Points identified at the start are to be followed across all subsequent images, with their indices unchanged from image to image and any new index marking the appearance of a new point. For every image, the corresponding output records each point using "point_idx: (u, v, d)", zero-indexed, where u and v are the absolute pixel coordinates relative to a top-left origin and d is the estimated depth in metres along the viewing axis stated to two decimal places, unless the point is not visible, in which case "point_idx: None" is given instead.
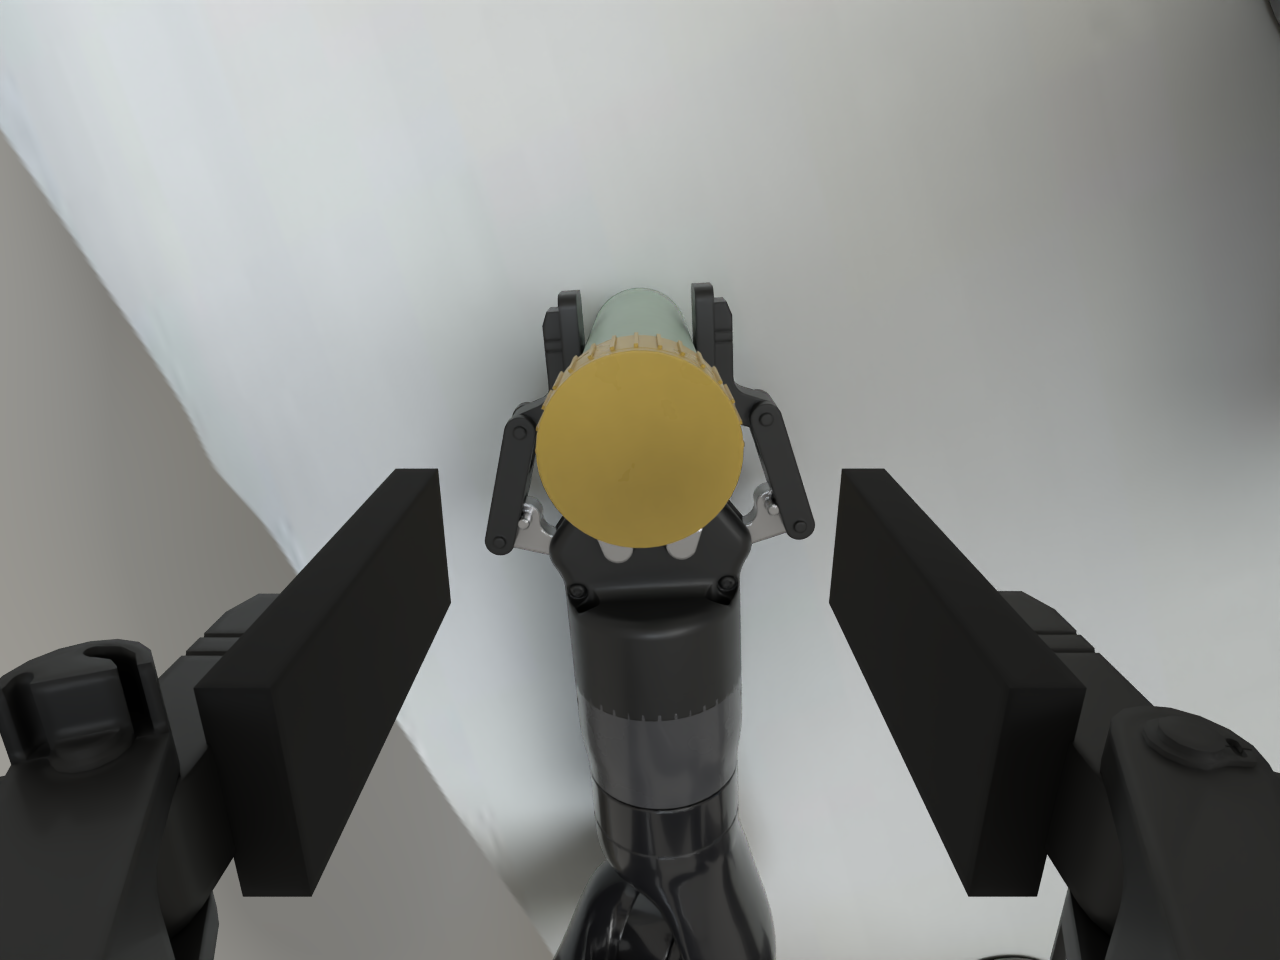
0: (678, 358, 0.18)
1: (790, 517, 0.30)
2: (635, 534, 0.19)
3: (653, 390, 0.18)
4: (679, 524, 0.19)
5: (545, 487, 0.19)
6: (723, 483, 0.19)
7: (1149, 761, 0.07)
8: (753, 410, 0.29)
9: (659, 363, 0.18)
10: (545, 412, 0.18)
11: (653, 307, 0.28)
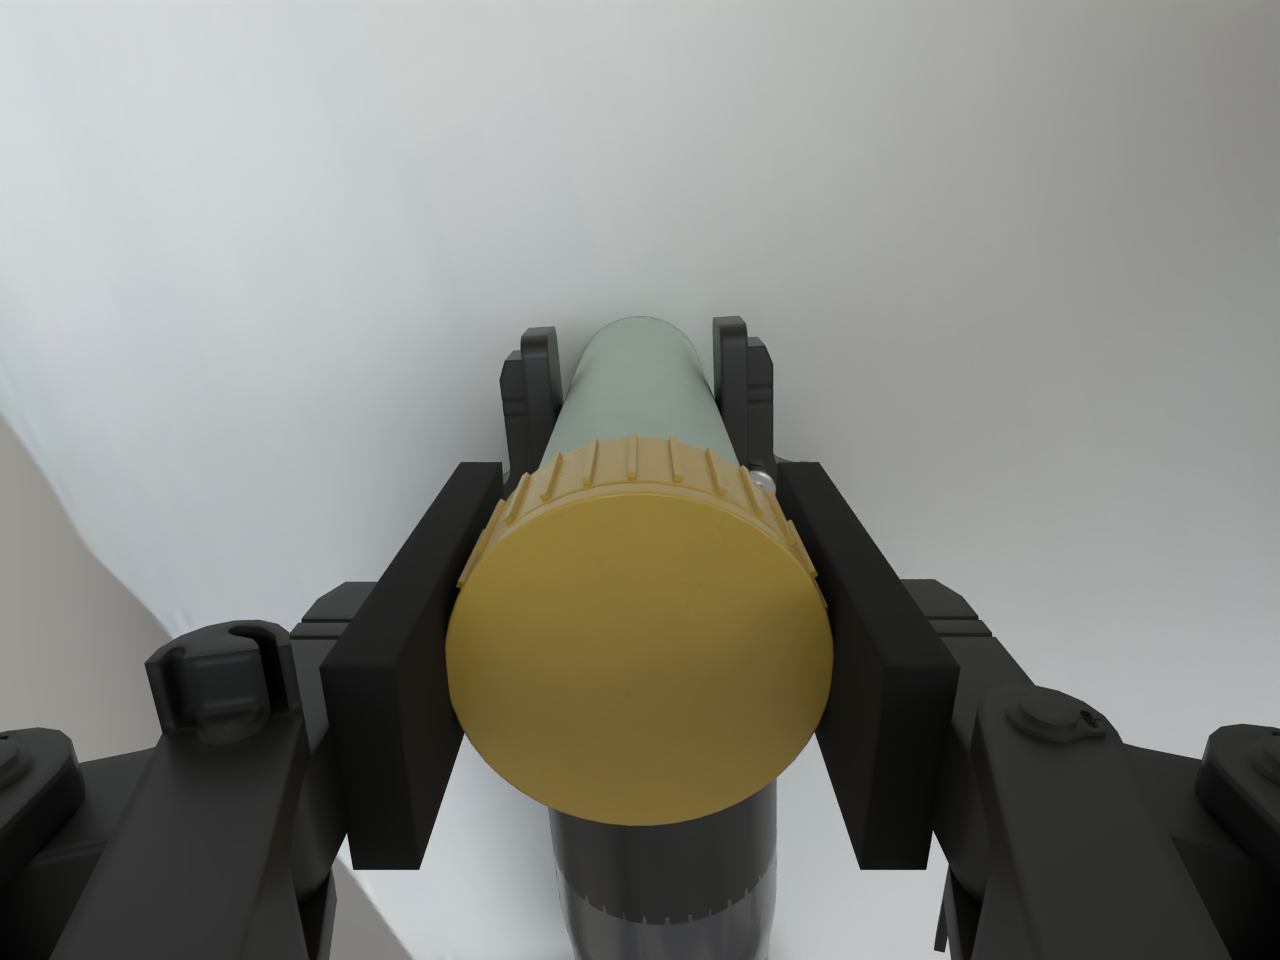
0: (715, 505, 0.09)
1: None
2: (632, 804, 0.11)
3: (666, 564, 0.09)
4: (711, 789, 0.11)
5: (465, 729, 0.10)
6: (794, 722, 0.10)
7: (1010, 738, 0.07)
8: None
9: (678, 515, 0.09)
10: (459, 602, 0.10)
11: (659, 352, 0.20)
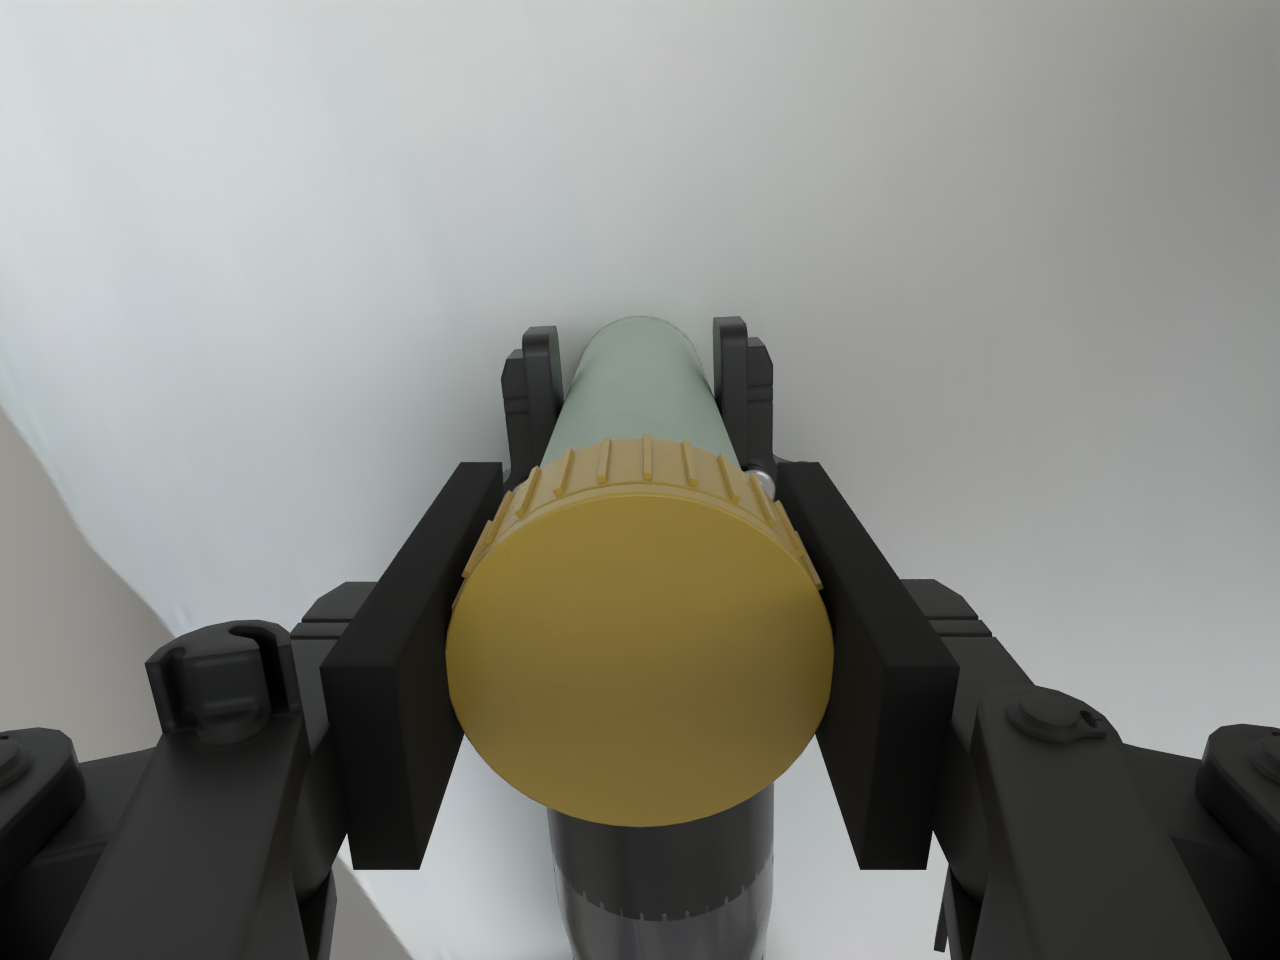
0: (459, 600, 0.10)
1: None
2: (800, 691, 0.10)
3: (518, 645, 0.10)
4: (793, 616, 0.10)
5: (689, 819, 0.11)
6: (715, 533, 0.09)
7: (1010, 738, 0.07)
8: None
9: (467, 633, 0.10)
10: (553, 807, 0.11)
11: (660, 352, 0.20)
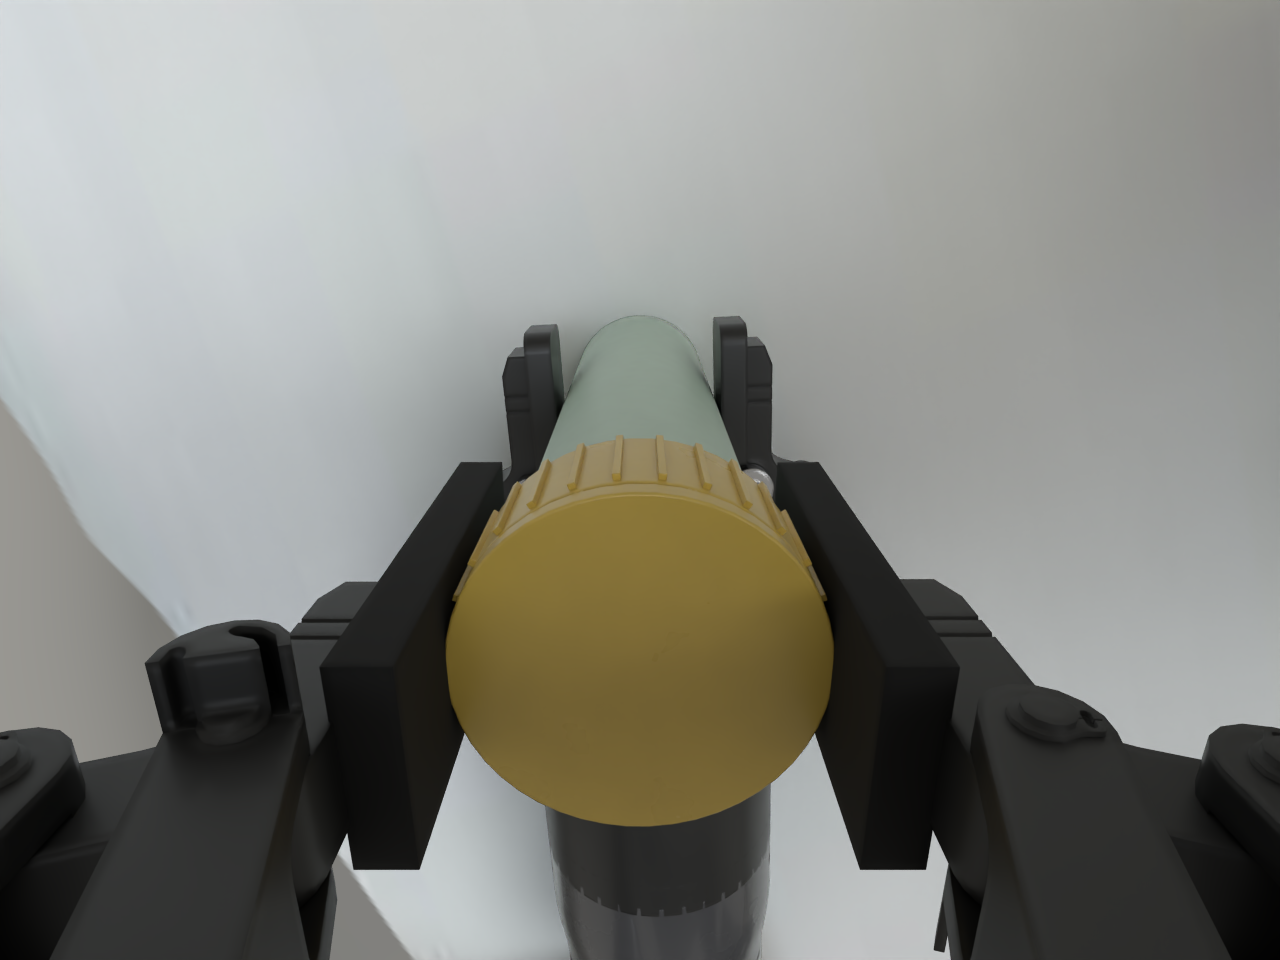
0: (551, 805, 0.11)
1: None
2: (673, 527, 0.09)
3: (599, 769, 0.10)
4: (579, 534, 0.09)
5: (830, 639, 0.10)
6: (484, 602, 0.10)
7: (1010, 738, 0.07)
8: None
9: (583, 805, 0.11)
10: (792, 760, 0.10)
11: (660, 351, 0.20)
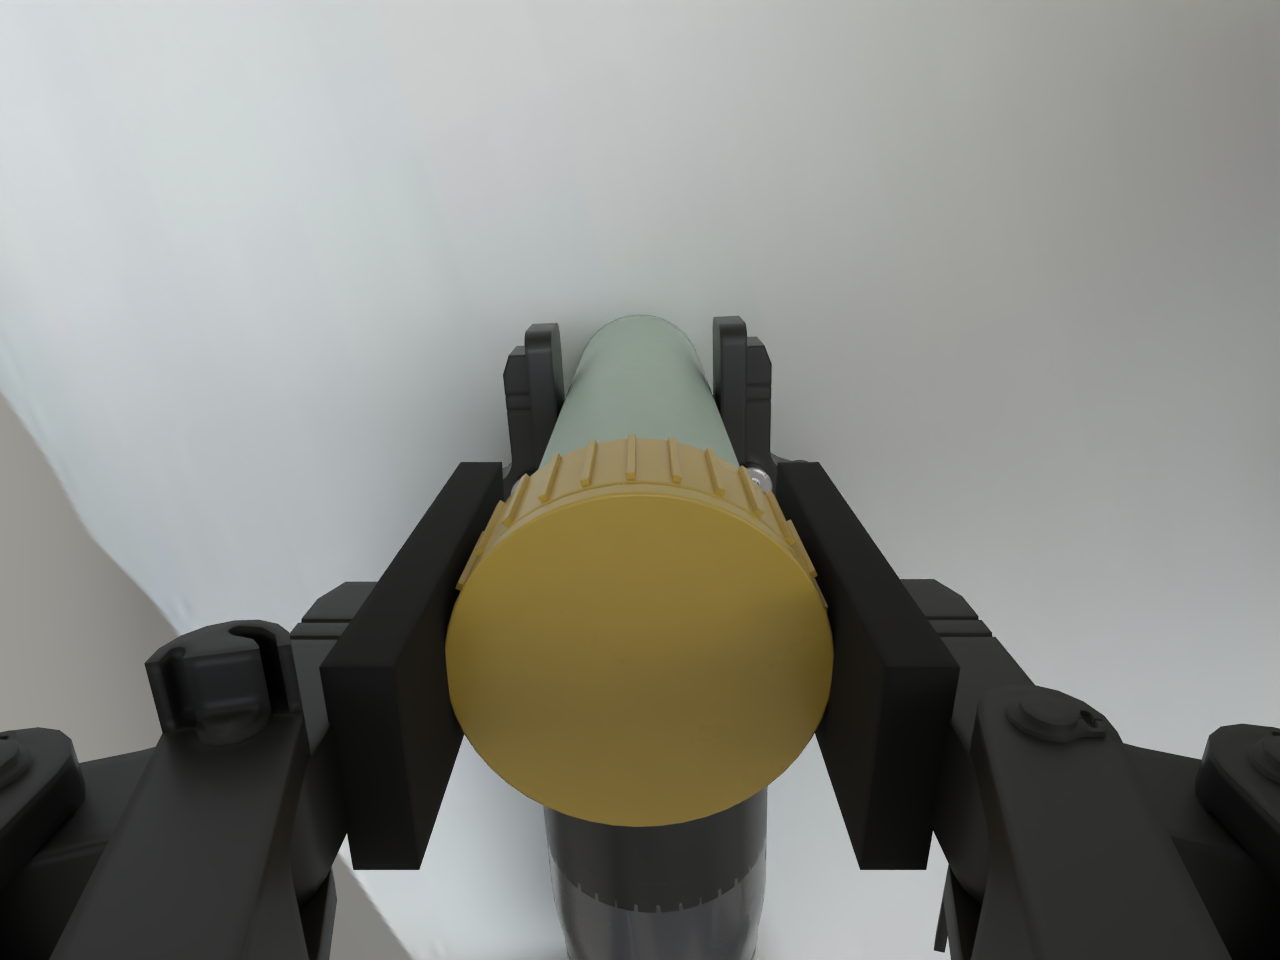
0: (791, 760, 0.10)
1: None
2: (478, 637, 0.10)
3: (750, 717, 0.10)
4: (485, 712, 0.10)
5: (610, 497, 0.09)
6: (552, 789, 0.11)
7: (1010, 738, 0.07)
8: None
9: (793, 734, 0.10)
10: (764, 536, 0.09)
11: (660, 350, 0.20)
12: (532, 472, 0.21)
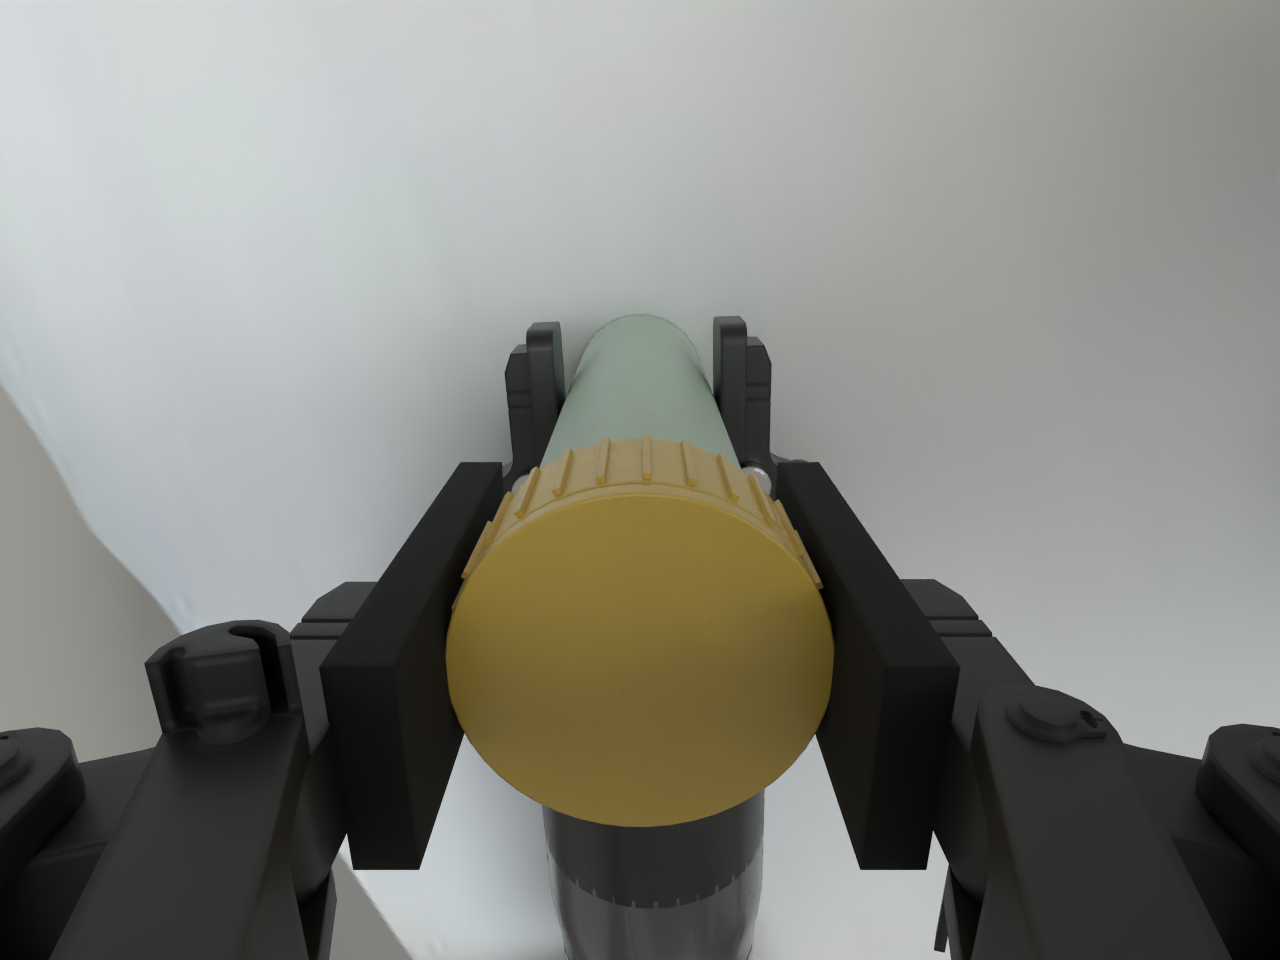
0: (767, 534, 0.09)
1: None
2: (589, 798, 0.11)
3: (702, 576, 0.09)
4: (670, 802, 0.11)
5: (449, 685, 0.10)
6: (770, 758, 0.10)
7: (1010, 738, 0.07)
8: None
9: (729, 534, 0.09)
10: (488, 560, 0.09)
11: (661, 350, 0.20)
12: None
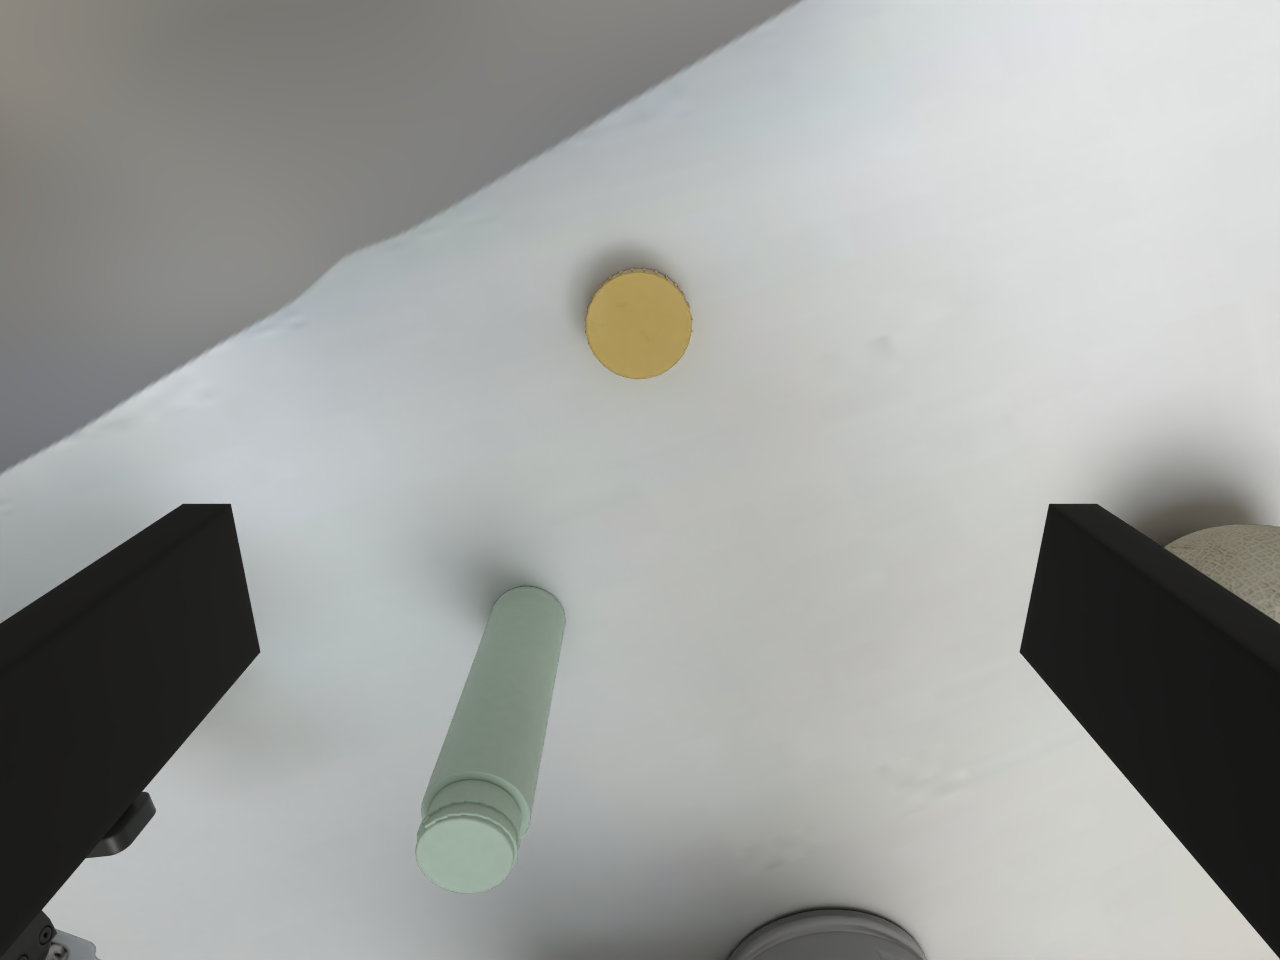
0: (599, 290, 0.36)
1: None
2: (679, 344, 0.37)
3: (609, 308, 0.36)
4: (682, 321, 0.36)
5: (638, 378, 0.37)
6: (669, 291, 0.36)
7: None
8: None
9: (598, 300, 0.36)
10: (602, 362, 0.37)
11: None
12: None
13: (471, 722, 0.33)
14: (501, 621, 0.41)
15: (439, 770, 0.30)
